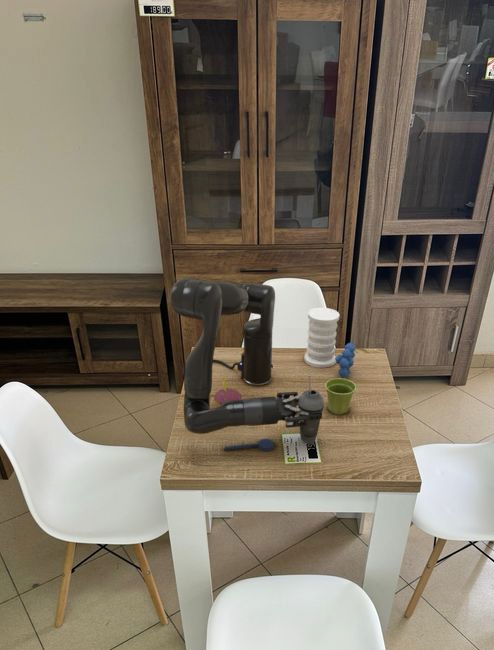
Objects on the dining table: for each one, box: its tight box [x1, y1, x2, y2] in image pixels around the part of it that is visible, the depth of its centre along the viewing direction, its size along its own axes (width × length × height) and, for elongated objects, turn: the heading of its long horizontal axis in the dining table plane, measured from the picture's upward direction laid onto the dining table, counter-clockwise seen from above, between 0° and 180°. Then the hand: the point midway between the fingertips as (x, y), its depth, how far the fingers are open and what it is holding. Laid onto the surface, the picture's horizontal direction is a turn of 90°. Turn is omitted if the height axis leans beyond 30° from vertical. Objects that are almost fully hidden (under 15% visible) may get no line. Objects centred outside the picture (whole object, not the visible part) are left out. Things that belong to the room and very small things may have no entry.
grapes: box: [335, 342, 356, 379], centre depth 185 cm, size 12×7×12 cm, turn 158°
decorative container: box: [303, 307, 340, 369], centre depth 192 cm, size 12×12×18 cm
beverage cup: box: [297, 375, 325, 444], centre depth 149 cm, size 7×7×20 cm
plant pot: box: [324, 377, 357, 415], centre depth 167 cm, size 9×9×9 cm
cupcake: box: [213, 375, 243, 408], centre depth 163 cm, size 9×8×12 cm
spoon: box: [223, 438, 275, 451], centre depth 152 cm, size 14×4×1 cm, turn 102°
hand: (318, 407), depth 149 cm, fingers closed on beverage cup, 7 cm apart
